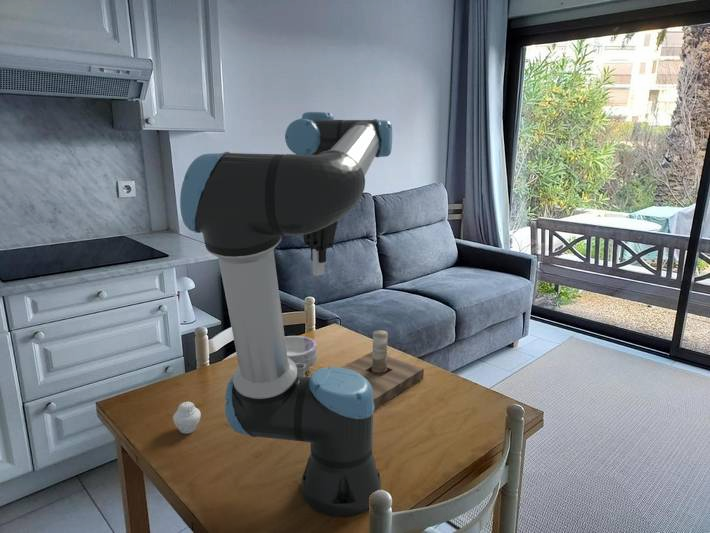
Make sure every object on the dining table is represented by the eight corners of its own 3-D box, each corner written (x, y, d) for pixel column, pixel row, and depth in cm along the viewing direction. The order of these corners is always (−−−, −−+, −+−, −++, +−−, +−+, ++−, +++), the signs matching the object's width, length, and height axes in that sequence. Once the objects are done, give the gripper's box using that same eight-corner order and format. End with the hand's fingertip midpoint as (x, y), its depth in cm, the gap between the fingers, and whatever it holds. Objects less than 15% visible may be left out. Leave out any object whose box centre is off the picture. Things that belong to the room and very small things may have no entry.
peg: (380, 384, 137) (381, 337, 134) (368, 379, 140) (369, 333, 136) (389, 379, 140) (391, 332, 137) (377, 374, 143) (378, 329, 140)
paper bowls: (259, 364, 149) (258, 339, 147) (307, 355, 155) (306, 331, 153) (273, 386, 136) (272, 359, 134) (325, 376, 142) (325, 350, 140)
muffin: (186, 440, 111) (184, 412, 109) (168, 432, 114) (165, 404, 112) (207, 427, 116) (205, 400, 114) (189, 419, 119) (187, 393, 117)
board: (371, 411, 123) (371, 400, 123) (318, 388, 134) (318, 378, 134) (423, 378, 141) (423, 368, 141) (373, 360, 152) (373, 351, 152)
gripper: (348, 180, 118) (347, 276, 124) (310, 177, 126) (310, 267, 132) (327, 182, 113) (327, 282, 118) (288, 178, 121) (289, 272, 126)
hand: (318, 274), depth 125 cm, fingers closed
